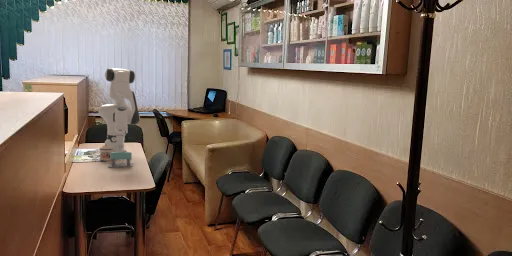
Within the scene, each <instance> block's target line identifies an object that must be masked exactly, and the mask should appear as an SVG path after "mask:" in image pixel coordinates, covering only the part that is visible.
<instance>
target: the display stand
mask: <svg viewBox="0 0 512 256" xmlns="http://www.w3.org/2000/svg"><path fill="white" fill-rule="evenodd" d="M124 167H134V163H133V162H131V160H130V159H127V160H126V162H123V161H119V162H118V163H117V162H116V160H115V159H112V160H111V162H109V165H108V169H125V168H124Z"/></svg>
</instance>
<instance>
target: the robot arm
mask: <svg viewBox="0 0 512 256" xmlns="http://www.w3.org/2000/svg"><path fill="white" fill-rule="evenodd" d="M104 77H105V80H106V81H107V82H110V85H109V87H110V88H109V98H110V99H111V100H112V101H114V103H106V104H102V105H100V106H99V108H98V115H99V116H100V118H102V119H103V120H104V122H105V124H106V128H107V134H106V140H105V141H104V145H105V144H107V145H108V146H110V147H112V150H115V151H116V152H127V149H126V147H125V140H126V138H125V136H126V134H128V128H129V127H128V125H135V126H136V125H137V124H139V123H140V120H141V116H140V112H139V107H138V104H137V99H136V94H135V92H134V90H132V89H131V88H130V87H131V85H130V84H133V83H134V82H135V80H136V74H135V71H134V70H131V69H126V68H114V67H108V68H107V69H106V70H105V72H104ZM125 100H127V101H129V102H130V105H128V104H127V102H126V101H125ZM130 107H131V108H130ZM115 151H112V152H115Z"/></svg>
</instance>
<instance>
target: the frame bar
mask: <svg viewBox="0 0 512 256" xmlns="http://www.w3.org/2000/svg"><path fill="white" fill-rule="evenodd" d="M132 152H133V151H130V152H129V151H126V152H111V160H110V161H112V159H115V161H118V160H119V161H120V160H121V161H122V160H125V161H127V159H130V161H132V160H133V159H132V157H133V156H132V155H133V153H132Z"/></svg>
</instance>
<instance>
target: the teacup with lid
mask: <svg viewBox="0 0 512 256" xmlns="http://www.w3.org/2000/svg"><path fill="white" fill-rule="evenodd" d="M112 151H115V150H112V147H110V146H108V145H107V144H105V143H104V145H103V146H100V147H99V160H100V161H105V162H107V161H108V162H109V161H112V160H111V152H112ZM115 152H116V151H115Z"/></svg>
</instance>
